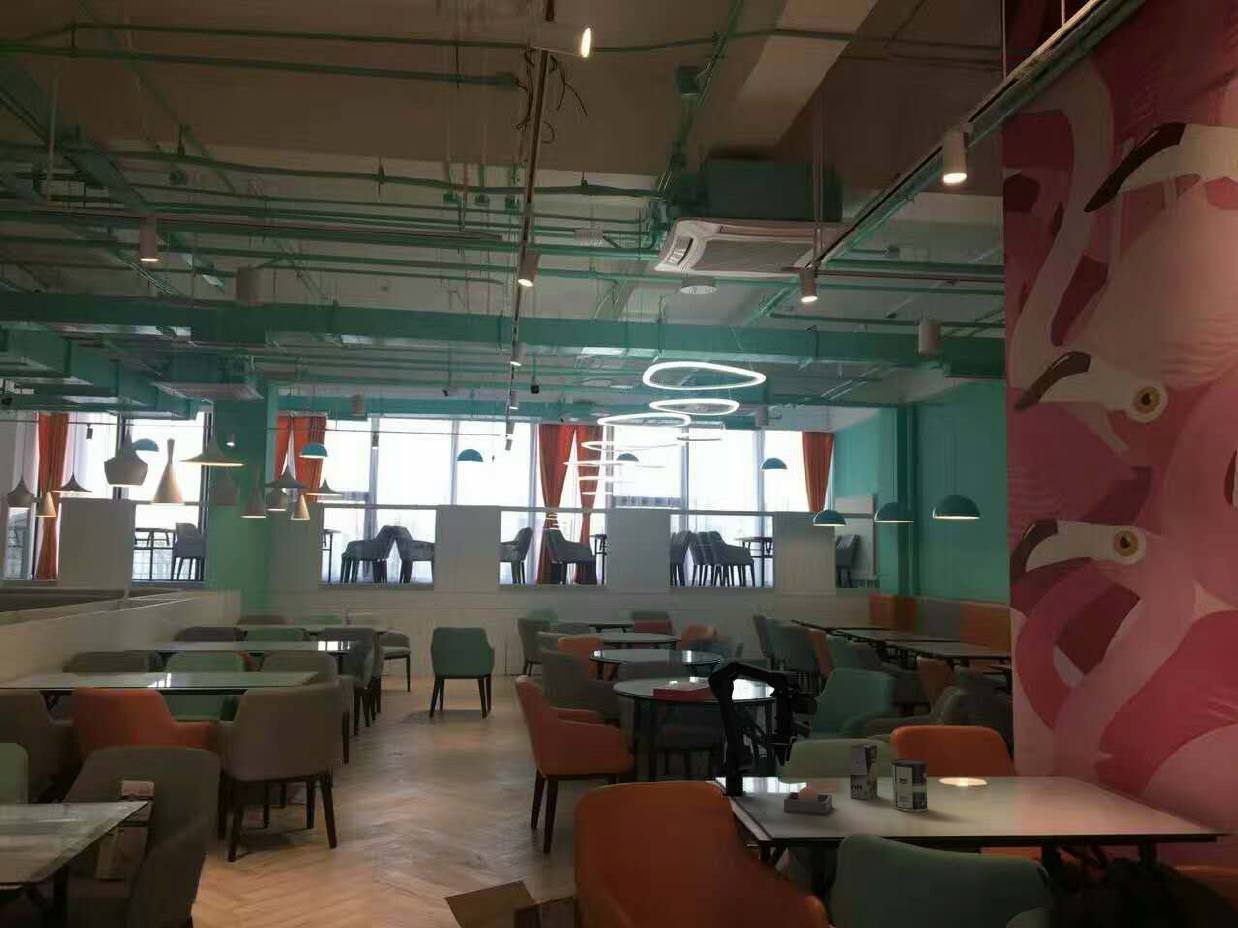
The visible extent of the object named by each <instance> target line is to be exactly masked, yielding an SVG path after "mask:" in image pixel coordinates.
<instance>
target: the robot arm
mask: <svg viewBox="0 0 1238 928" xmlns="http://www.w3.org/2000/svg"><path fill="white" fill-rule="evenodd" d="M741 675H742V676H744V677H748V678H751V679H754V680H756V681H760V682H763V683H765V684H767V686H769V687H770V688H772V689H773V691H772V692H771V693H770V694H769V697H770V698H775V701H774V702H775V710H774V711H775V714H774V718H773V720H775V729H774V732H773V733H772V734H771V735H770V736H769V744H770V745H771V746H772V749H773V751H774V753H775V756H776V759H777V761H778V763H779V765H780V766H781V767H784V766H785V765H786V764H785V763H786V762H790V760H791V755H792V751H793V746H794V744H795V742H796V741H797V740H799V737H800V736H802V737H803V738H805V739H809V738H810V736H811V734H812V732H813V728H814V727H813V726H811V721H808V720H807V719H805V720H804V721H803V722H802V721H798V720H797V716H796V715H805V716H815V714H817V713H816V712H818V711H817V710H818V702H817V700H816V697H815V696H814V692H804V690H803V688H802V687H801V686H800V683H799V682H798V681H797V677H796V675H795V673H794V672H792V671H787V670H773V669H768V668H765V667H762V666H758V665H756V664H752V663H748V662H746V661H744V660H733V661H731V662H730V663H729V664H727V665H724V666H723V667H722V668H720V669H718V670H717V671H713V672H711V673H710V674H709V676H708V677H707V683H708V686H709V688H710V692H711V693H712V695H713V696H714V697H715V699H716V700H717V704H718V708H719V711H720V716H721V721H722V725H723V730H724V734H725V739H726V749H725V753H724V754H725V761H724V763H723V764H722V765H721V766H720V767H719V773H720V776H725V778H724V779H725V780H724V781H725V785H724V786H725V787H724V791H723V792H725V793H726V794H727V796H735V797H736V796H739V797H743V796H744V795H745V794H746V793H747V791H746V790H744V775H747V774H748V773H749V770H750V768H751V766H752V764H753V758H754V756H753V754H752V750H751V745H749V744H747V745H746V744H745V742H744V740H743V738H742V734H741V731H740V729H741V728H740V726H739V722H738V721H739V720H738V718H737V717H738V716H737V712H736V708H735V704H734V699H733V695H734V690H735V681H736V680H738V679H739V678H740V676H741Z"/></svg>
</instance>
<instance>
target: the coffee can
mask: <svg viewBox="0 0 1238 928" xmlns="http://www.w3.org/2000/svg"><path fill="white" fill-rule="evenodd" d="M891 763H892V768H891V769H892V797H893V799H892V801H893V804H892V805H893V807H894V808H895V809H894V808H893V807H892V808H893V809H894V810H897V809H898V810H897V811H900V810H903V812H908V811H909V813H910V812H911V813H922V812H926V811H928V784H927V783H928V779H927V778H928V777H927V776H928V775H927V774H928V773H927V764H928V763H927V761H925V760H923V759H914V758H895V759H892V760H891Z"/></svg>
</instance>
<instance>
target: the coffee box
mask: <svg viewBox="0 0 1238 928" xmlns="http://www.w3.org/2000/svg"><path fill="white" fill-rule="evenodd" d="M877 746H878V745H877V744H869V743H857V744H853V745H851V746H849V774H850V776H849V777H850V778H849V781H850V783H849V785H850V786H849V787H850V790H849V791H850V795H849V796H850V798H851V797H854V798H853V799H858V798H860V799H859V800H866V799H869V800H871V799H873V798H875V797H877V796H878V748H877ZM874 796H875V797H874ZM872 797H873V798H872Z"/></svg>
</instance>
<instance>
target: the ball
mask: <svg viewBox="0 0 1238 928" xmlns="http://www.w3.org/2000/svg"><path fill="white" fill-rule="evenodd" d="M798 792H799V794H798V800H803V801H816V802H818V794H819V793H818V792H817V791H816V789H815V788H813V787H812V786H811V787H810V786H804V787H802V788H801V789H800V790H799V791H798Z"/></svg>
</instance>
